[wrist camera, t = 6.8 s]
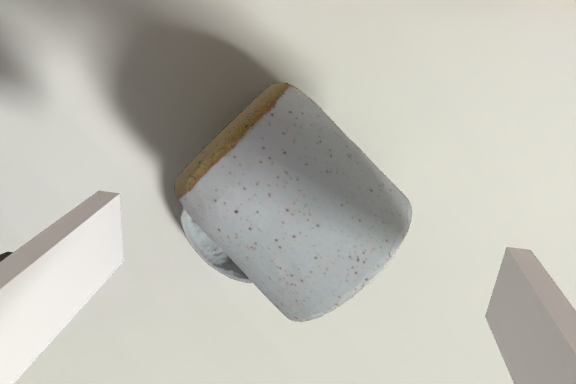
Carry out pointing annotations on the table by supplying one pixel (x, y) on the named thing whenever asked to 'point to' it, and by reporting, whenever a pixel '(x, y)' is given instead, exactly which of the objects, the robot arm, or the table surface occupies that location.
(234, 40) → the table surface
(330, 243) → the ceramic mug
